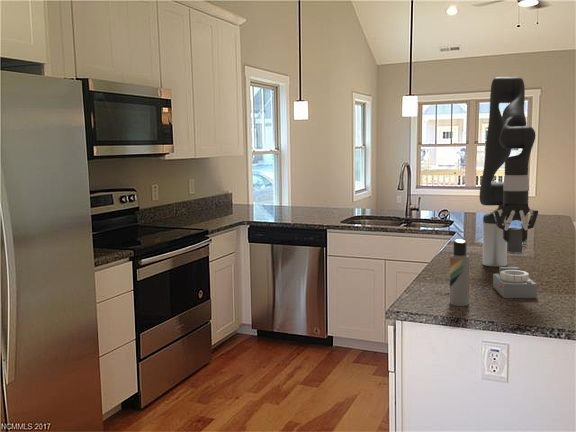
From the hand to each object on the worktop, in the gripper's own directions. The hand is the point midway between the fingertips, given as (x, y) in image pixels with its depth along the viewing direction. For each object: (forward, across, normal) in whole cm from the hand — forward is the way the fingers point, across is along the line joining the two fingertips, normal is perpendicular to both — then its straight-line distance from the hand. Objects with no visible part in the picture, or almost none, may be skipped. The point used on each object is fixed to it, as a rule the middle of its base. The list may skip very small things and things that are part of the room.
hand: (514, 241), depth 178 cm
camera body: (+17, 0, 0) cm, 17 cm away
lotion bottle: (+17, +20, +14) cm, 30 cm away
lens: (+4, 0, 0) cm, 4 cm away
